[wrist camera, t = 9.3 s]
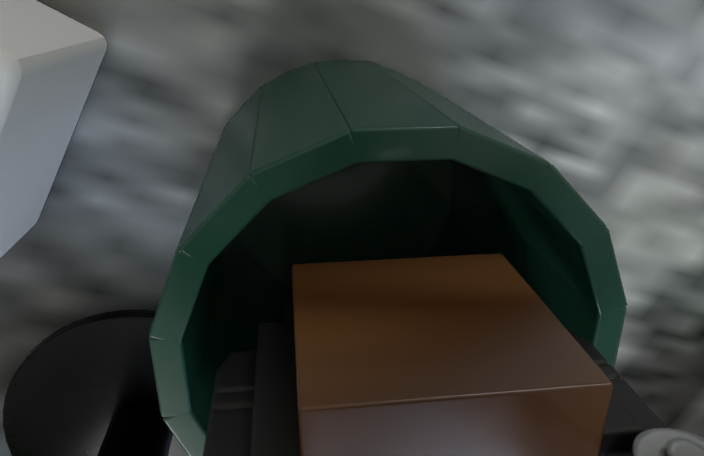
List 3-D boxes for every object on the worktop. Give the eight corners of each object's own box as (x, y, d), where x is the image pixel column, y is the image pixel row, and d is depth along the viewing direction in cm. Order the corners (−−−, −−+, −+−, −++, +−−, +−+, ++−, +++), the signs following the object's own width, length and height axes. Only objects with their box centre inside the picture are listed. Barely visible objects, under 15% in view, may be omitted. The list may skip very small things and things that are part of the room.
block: (299, 435, 12) (307, 630, 8) (291, 262, 10) (297, 409, 7) (483, 419, 12) (569, 598, 9) (502, 252, 11) (615, 383, 7)
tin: (223, 309, 22) (182, 555, 12) (199, 61, 19) (115, 135, 9) (456, 295, 23) (585, 511, 13) (474, 57, 20) (667, 119, 10)
